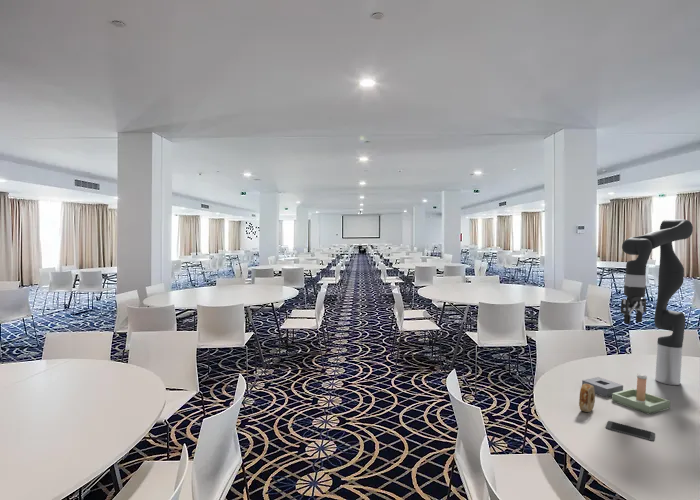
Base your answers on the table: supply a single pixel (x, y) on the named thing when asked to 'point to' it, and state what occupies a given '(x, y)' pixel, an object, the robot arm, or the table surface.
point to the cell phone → (630, 431)
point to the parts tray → (650, 406)
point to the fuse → (641, 388)
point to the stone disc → (587, 398)
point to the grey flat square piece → (603, 386)
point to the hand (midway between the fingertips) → (632, 322)
